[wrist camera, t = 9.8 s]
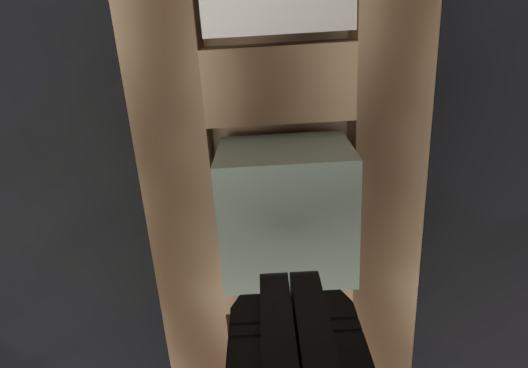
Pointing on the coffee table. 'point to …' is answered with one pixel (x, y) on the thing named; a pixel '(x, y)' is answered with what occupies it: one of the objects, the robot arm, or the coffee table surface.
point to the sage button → (287, 208)
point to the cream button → (275, 17)
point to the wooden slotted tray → (278, 122)
